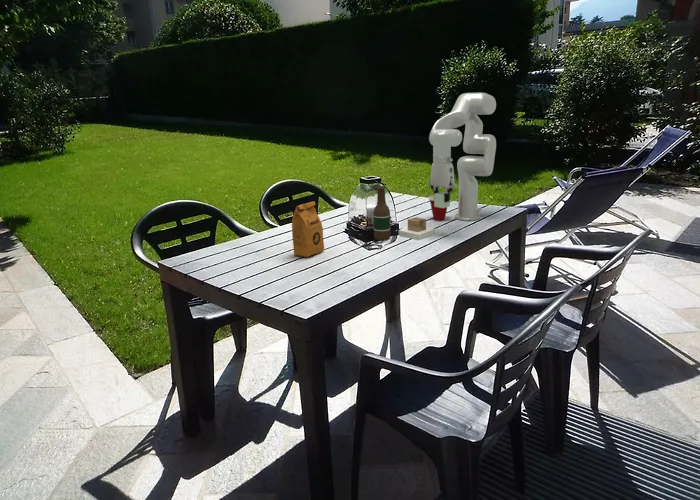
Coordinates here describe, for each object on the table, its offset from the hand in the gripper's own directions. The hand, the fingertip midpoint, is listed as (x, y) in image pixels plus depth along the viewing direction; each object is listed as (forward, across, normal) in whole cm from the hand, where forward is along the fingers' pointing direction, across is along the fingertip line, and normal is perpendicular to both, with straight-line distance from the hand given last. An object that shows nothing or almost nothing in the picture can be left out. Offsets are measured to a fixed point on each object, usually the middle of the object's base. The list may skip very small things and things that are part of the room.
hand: (441, 200), depth 228 cm
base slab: (+16, +10, +6) cm, 20 cm away
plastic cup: (+17, +19, -23) cm, 35 cm away
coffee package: (+16, +28, +56) cm, 64 cm away
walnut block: (+14, +10, +6) cm, 18 cm away
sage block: (+3, 0, 0) cm, 3 cm away
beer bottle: (+16, +19, +20) cm, 32 cm away
